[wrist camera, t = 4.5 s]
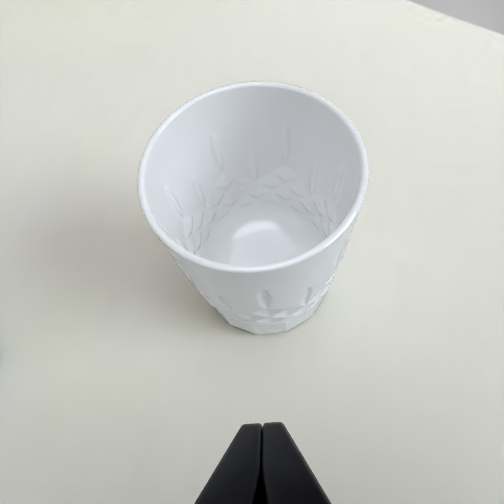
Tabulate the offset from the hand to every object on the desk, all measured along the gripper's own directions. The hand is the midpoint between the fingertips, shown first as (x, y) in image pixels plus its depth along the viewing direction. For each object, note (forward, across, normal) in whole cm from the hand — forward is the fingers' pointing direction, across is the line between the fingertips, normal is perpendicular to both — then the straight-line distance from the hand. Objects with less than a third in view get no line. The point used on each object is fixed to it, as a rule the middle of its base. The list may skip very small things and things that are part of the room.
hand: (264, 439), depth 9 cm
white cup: (+15, 0, +3) cm, 15 cm away
